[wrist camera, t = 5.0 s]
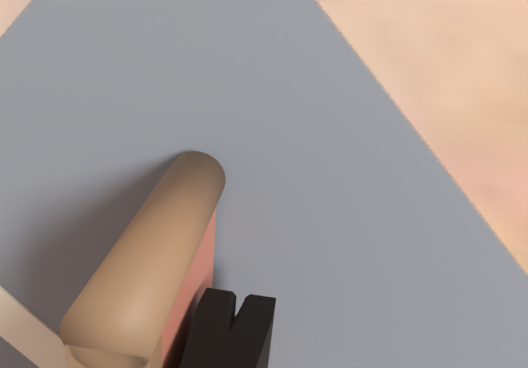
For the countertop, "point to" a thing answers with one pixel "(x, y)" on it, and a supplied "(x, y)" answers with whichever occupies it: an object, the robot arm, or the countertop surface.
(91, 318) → the fence gate
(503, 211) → the countertop surface
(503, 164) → the countertop surface
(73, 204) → the card
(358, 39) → the countertop surface
